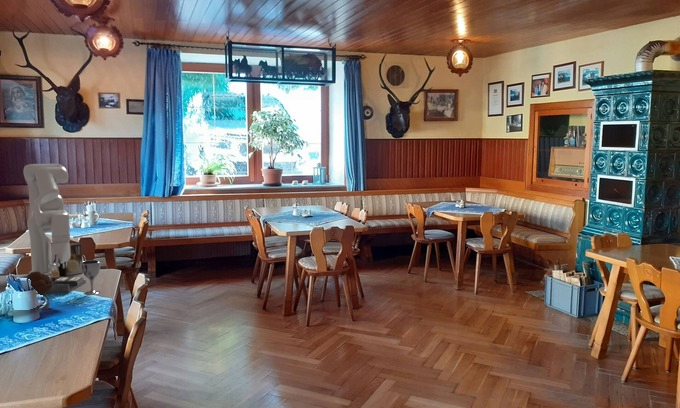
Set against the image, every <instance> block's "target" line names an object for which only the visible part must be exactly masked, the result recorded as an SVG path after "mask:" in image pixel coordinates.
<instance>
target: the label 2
mask: <svg viewBox="0 0 680 408" xmlns="http://www.w3.org/2000/svg"><path fill="white" fill-rule="evenodd" d="M71 278H72V279H70V280H69V281H77V280H78V279H80V278H81V277H71Z"/></svg>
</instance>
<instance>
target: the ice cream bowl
mask: <svg viewBox="0 0 680 408" xmlns="http://www.w3.org/2000/svg"><path fill="white" fill-rule="evenodd" d="M27 275H28V276H27V277H26V279H30V280H31V286H32V287H33V288H34V289H35V290H36V291H37V292H38V294H40V295H43V296H44V295H46V294H49V293H48V291H49V290H50V289H51V288H52V286H53V282H52V281H51V278H50V277H49V275H45V274H41V273H40V272H32V273H30V274H29V273H28V274H27Z"/></svg>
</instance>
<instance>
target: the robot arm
mask: <svg viewBox="0 0 680 408" xmlns="http://www.w3.org/2000/svg"><path fill="white" fill-rule="evenodd" d="M22 172H23V177H24V180H25V182H26V184H27V187H28V200H29V208H30V211H31V212H32V213H33V216H30V217H29V218H28V219H27V222H26V223H27V224H26V226H27V230H28V234H29V241H30V242H29V243H30V244H29V245H30V257H31V258H30V259H31V270H30V271H29V272H28V275H29V274H30V273H32V272H40V273H41V274H45V275H47V276H51V271H48V264H50V263H56V264H55V266H56V267H58V270H59V277H58V278H66V276H67V277H68V275H67V268H65V267H67V262H68V260H69V259H70V257H71V252H70V242H71V231H70V230H71V228H70V214H69V212H67V210H65V204H64V202H65V201H64V198H63V196H62V195H60V189H59V185H58V184H67V182H68V181H69V173H68V170H67V168H66V167H65V166H63V164H60V163H29V164H27V165H24V167H23V171H22ZM47 233H51V239H50V237H49V236H48V235H46V234H47Z"/></svg>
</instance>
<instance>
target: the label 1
mask: <svg viewBox="0 0 680 408" xmlns="http://www.w3.org/2000/svg"><path fill="white" fill-rule="evenodd" d="M58 278H59V279H58ZM58 278H57V279H58V280H57V279H56V281H64V280H66V279H68V278H69V277H58Z"/></svg>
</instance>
